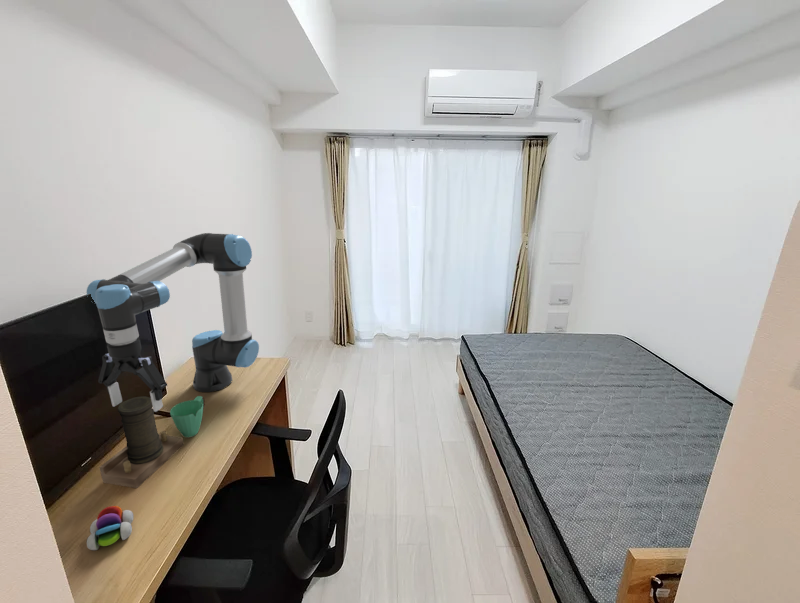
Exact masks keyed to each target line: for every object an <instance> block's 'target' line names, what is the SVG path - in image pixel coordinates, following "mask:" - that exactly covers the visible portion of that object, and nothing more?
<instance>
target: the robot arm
mask: <svg viewBox="0 0 800 603" xmlns="http://www.w3.org/2000/svg"><path fill="white" fill-rule="evenodd" d="M252 252H253V251H252V247H251V245H250V243H249V241H248V240H247V239H246V238H245V237H244V236H242V235H238V234H237V235H236V234H233V233H212V232H211V233H210V232H206V233H205V232H204V233H200V234H195V235H193V236H190V237H188V238H185V239H183V240H181V241H179V242H176V243H175V244H174V245H173V246H172V248H171V249H169V250H166V251H165V252H163V253H160V254H158V255H156V256H155V257H153V258H151V259H149V260H147V261H145V262H143V263H140V264H139V265H136V266H135V267H132V268H129V269H128V270H127V271H126V270H125V271H124V272H122V273H120V274H118V275H116V276H114V277H112V278H109V279H106V278H105V279H104V278H103V279H96V280H92V281H90V283H89V284H88V285H87V287H86V296H87V295H88V294H91V297H92V299H93V300H94V302H95V303H94V304H96V307H97V312H98V314H99V319H100V322H101V327H102V331H103V334H104V339H105V343H106V348H107V352H108V353H105V354H103V355H102V357H101V358H102V359H101V360H102V366H101V369H100V373H99V376H98V380H97V381H98V384H103V385H104V386H105V387H106V390H107V393H108V395H109V398H110V402H111V405H112V407H116V406H119V405H120V404H122V403H123V402H124V401H123V397H122V394H121V390H120V385H119V382H117V381H118V380H117V379H118V378H119V376H120V375H121V374H122V372H127V373H133V375H135V376H137V377H138V378H139V379H140V380H141V381H143V383H144V384H145V385H146V386H147V387H148V388H149V389H150V391H149V395H150V396H149V397H150V398H151V401H152V410H153V411H154V412H155V413H157V412H158V411H160V409H162V408H163V407H164V404H163V401H162V399H163V396H164V395H163V391H162V390H163V389H165V387H168V383H167V381H166V380H165V378H164V377H163V376H162V374H161V372H160V370H159V369H158V368H157V366H156V365H155V363H154V361H153V357H152V356H150V355H148V356H146V357H142V355H141V351H142V348H143V347H142V344H141V338H139V336H140V334H139V330H138V325H137V319H136V315H140V314H141V313H144V312H147V311H150V310H152V309H156V308H159V307H160V306H163V305H164V304H166V303H168V302H169V300H170V298H171V297H170V296H171V295H170V294H171V293H170V289H169V287H168V286H167V285H166V284H165V283H164V282H163V280H165V279H166V278H167V277H170V276H171V275H173V274H175V273H177V272H178V271H180V270H182V269H184V268H186V267H187V268H190V267H193V266H196V265H198V264H211V265H212V266H213V271H214V273H216V274H217V275H218V280H219V290H220V291H219V292H220V293H219V294H220V300H221V301H220V302H221V311H222V313H221V314H222V323H223V331H224V332H223V331H222V330H219V329H218V330H217V329H215V330H208V331H203V332H200V333H198V334H196V335H195V336H193V338H192V340H191V343H192V344H191V345H192V352H193V359H194V366H195V372H194V377H193V380H192V385H193V389H194V390H195V391H197V392H199V393H200V392H201V393H212V392H217V391H220V390H223V389H225V388H227V387H228V386H230V385H231V384H232V382H233V374H232V373H231V372H230V370H229V367H228V366H230V367H234V368H235V367H236V368H249V367H251V366H252V365H253V364H254V362H255V361H256V359H257V358H258V355H259V352H260V345H259V342H258V341H257V340H256V339H253V335H252V332H251V331H250V330H248V323H247V312H246V311H247V309H246V308H247V307H246V300H245V299H246V298H245V286H244V276H243V275H244V273H245V271H246V270H247V266H248V265H250V263H251V261H252V260H251V259H252V257H253V253H252ZM231 381H232V382H231ZM230 383H231V384H230ZM229 384H230V385H229ZM227 385H228V386H227ZM226 386H227V387H226ZM224 387H225V388H224Z"/></svg>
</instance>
